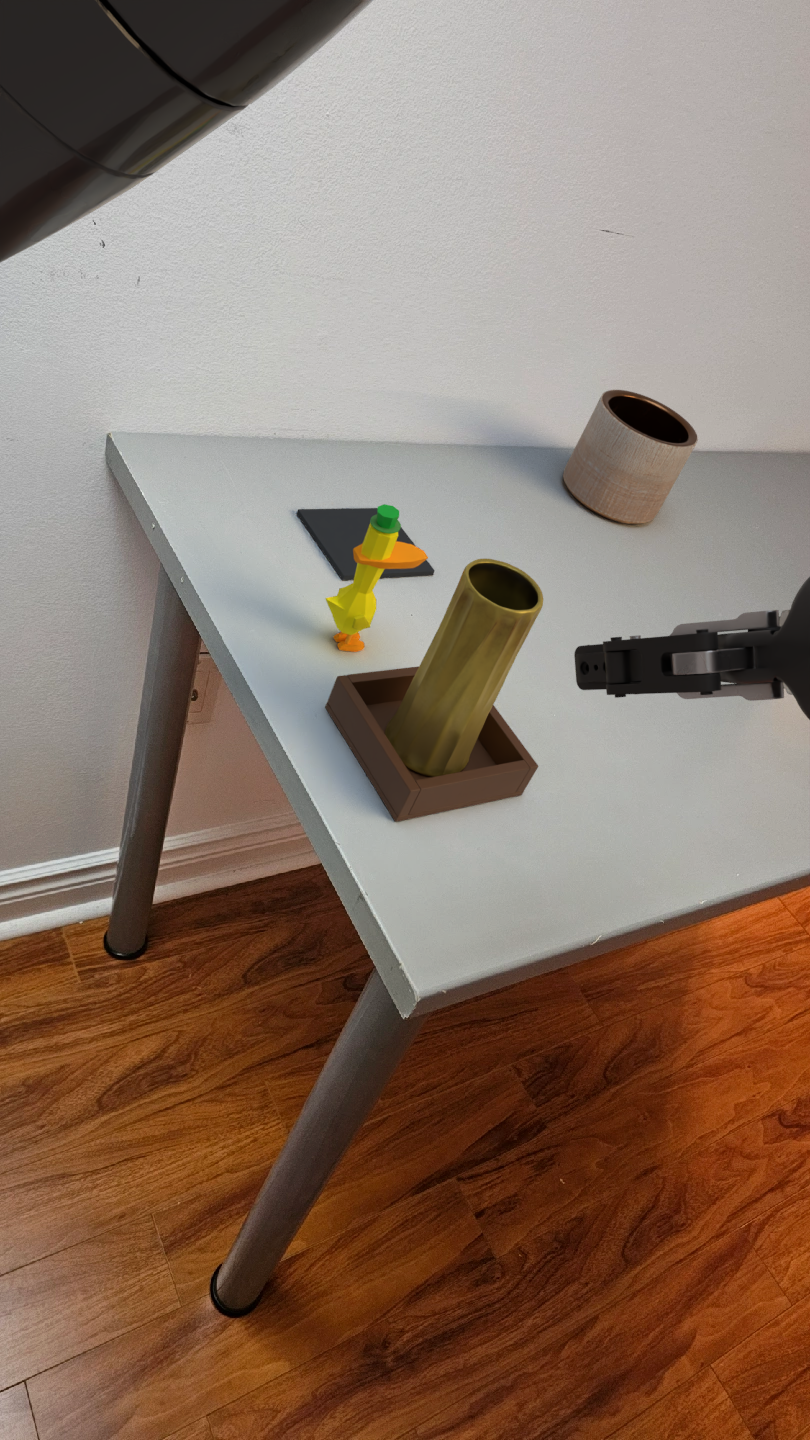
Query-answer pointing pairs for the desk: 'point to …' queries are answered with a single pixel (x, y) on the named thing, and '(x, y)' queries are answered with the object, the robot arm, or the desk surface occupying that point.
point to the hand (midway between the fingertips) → (641, 661)
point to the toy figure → (370, 576)
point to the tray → (407, 794)
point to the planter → (629, 457)
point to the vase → (464, 667)
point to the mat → (350, 539)
